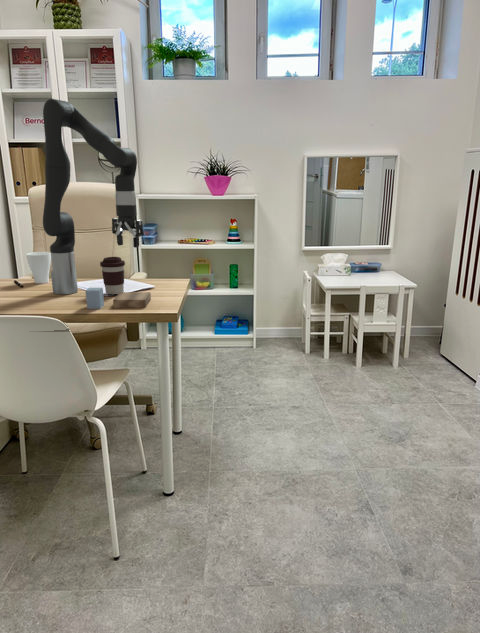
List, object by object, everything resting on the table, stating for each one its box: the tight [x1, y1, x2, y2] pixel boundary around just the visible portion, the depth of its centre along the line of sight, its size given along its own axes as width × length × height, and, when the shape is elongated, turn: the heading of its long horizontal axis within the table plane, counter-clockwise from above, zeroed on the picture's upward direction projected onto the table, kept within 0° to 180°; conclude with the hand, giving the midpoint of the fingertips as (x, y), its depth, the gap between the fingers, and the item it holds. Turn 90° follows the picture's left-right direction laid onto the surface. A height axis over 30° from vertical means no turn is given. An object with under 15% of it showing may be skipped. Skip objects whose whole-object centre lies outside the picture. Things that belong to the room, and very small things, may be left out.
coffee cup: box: [99, 256, 126, 295], centre depth 200 cm, size 10×10×15 cm
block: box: [85, 287, 105, 310], centre depth 180 cm, size 5×5×7 cm
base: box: [112, 291, 152, 309], centre depth 186 cm, size 12×12×3 cm
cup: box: [25, 251, 52, 285], centre depth 221 cm, size 10×10×14 cm
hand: (128, 246), depth 186 cm, fingers open, 8 cm apart
